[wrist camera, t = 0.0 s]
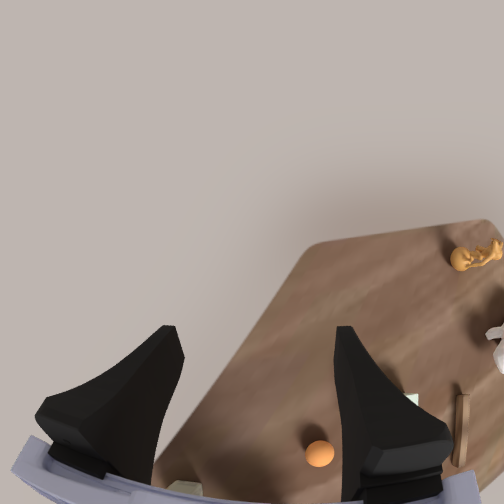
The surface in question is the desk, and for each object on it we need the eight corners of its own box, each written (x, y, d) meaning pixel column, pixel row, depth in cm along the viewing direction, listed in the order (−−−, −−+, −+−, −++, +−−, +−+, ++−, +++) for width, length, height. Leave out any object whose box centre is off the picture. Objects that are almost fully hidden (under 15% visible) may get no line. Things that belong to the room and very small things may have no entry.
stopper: (458, 463, 31) (464, 466, 29) (452, 464, 31) (458, 467, 29) (462, 394, 36) (469, 394, 33) (456, 395, 36) (463, 395, 34)
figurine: (463, 242, 45) (494, 208, 34) (482, 269, 43) (517, 239, 32) (434, 266, 45) (465, 234, 34) (454, 295, 42) (490, 270, 31)
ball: (332, 462, 36) (334, 469, 32) (304, 463, 36) (304, 470, 33) (333, 437, 37) (336, 442, 34) (305, 438, 38) (306, 444, 34)
